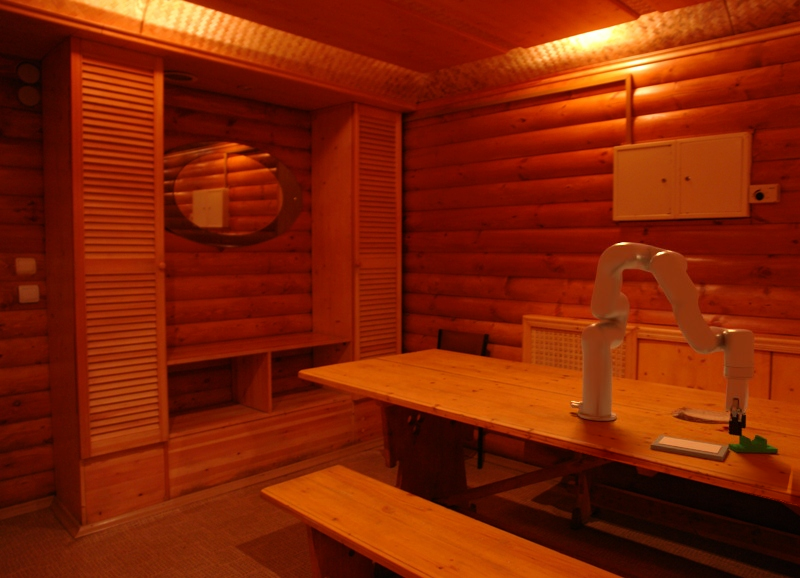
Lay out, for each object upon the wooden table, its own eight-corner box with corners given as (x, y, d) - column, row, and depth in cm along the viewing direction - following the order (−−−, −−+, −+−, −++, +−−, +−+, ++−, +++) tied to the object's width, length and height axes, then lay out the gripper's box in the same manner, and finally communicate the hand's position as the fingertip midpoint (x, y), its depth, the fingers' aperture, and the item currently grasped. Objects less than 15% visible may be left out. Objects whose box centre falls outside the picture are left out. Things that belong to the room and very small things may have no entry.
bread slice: (747, 424, 198) (747, 413, 198) (713, 431, 190) (713, 419, 189) (697, 412, 214) (697, 402, 214) (663, 418, 205) (663, 407, 205)
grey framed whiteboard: (650, 448, 170) (650, 443, 170) (660, 438, 180) (660, 434, 180) (722, 461, 160) (722, 455, 159) (728, 450, 169) (728, 445, 169)
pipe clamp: (768, 435, 171) (778, 439, 166) (768, 448, 171) (778, 453, 166) (728, 434, 171) (737, 439, 166) (728, 447, 171) (737, 452, 167)
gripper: (727, 367, 183) (726, 423, 183) (719, 375, 169) (718, 436, 169) (756, 369, 178) (755, 426, 179) (750, 378, 164) (749, 440, 165)
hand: (737, 431), depth 174 cm, fingers open, 9 cm apart
